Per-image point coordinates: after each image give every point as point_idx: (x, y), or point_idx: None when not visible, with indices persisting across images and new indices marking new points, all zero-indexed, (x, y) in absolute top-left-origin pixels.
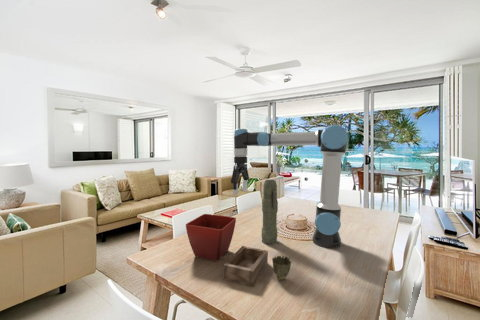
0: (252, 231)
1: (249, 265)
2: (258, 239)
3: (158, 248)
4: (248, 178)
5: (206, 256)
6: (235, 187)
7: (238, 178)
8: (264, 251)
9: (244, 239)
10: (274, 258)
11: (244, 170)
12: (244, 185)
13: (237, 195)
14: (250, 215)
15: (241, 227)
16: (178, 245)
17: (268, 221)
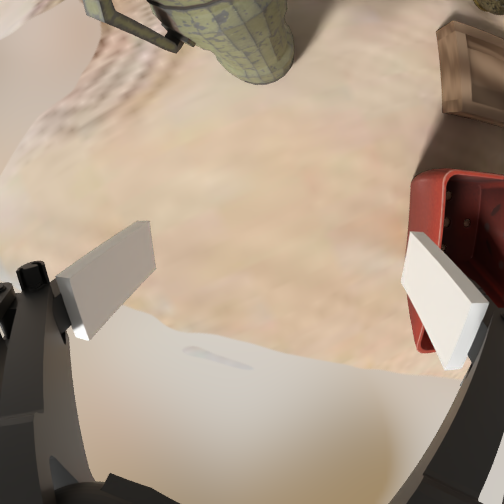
0: (186, 159)
1: (483, 80)
2: (261, 100)
3: (435, 366)
4: (18, 279)
5: (485, 222)
6: (482, 291)
7: (482, 370)
8: (464, 30)
9: (289, 154)
10: (501, 5)
11: (43, 488)
12: (120, 279)
13: (422, 232)
14: (49, 243)
15: (167, 221)
16: (412, 340)
17: (284, 18)
